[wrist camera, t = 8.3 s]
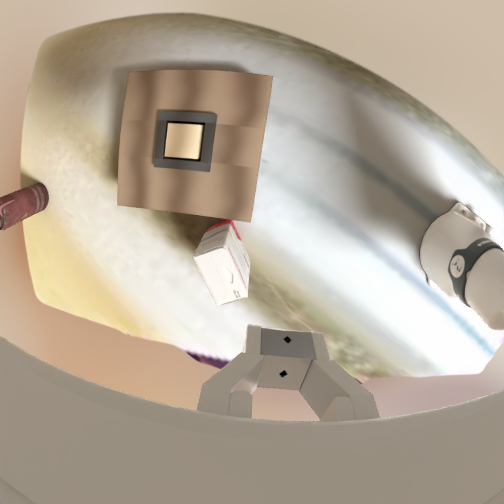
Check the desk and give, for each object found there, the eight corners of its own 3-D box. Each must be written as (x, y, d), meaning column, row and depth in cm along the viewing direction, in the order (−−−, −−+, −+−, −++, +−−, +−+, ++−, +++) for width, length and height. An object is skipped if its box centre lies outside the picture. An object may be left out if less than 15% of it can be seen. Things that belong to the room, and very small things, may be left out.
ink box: (206, 227, 46) (188, 255, 35) (233, 216, 45) (223, 242, 34) (226, 270, 49) (215, 308, 38) (252, 261, 48) (248, 298, 37)
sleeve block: (271, 87, 36) (273, 74, 28) (252, 208, 44) (250, 224, 36) (150, 81, 36) (125, 70, 27) (139, 193, 44) (114, 207, 35)
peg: (214, 127, 39) (201, 125, 30) (210, 154, 40) (197, 159, 32) (187, 125, 39) (168, 123, 30) (184, 152, 40) (164, 156, 32)
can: (53, 194, 44) (7, 214, 31) (43, 215, 46) (1, 238, 33) (39, 176, 42) (-7, 192, 29) (30, 197, 44) (-13, 217, 31)
